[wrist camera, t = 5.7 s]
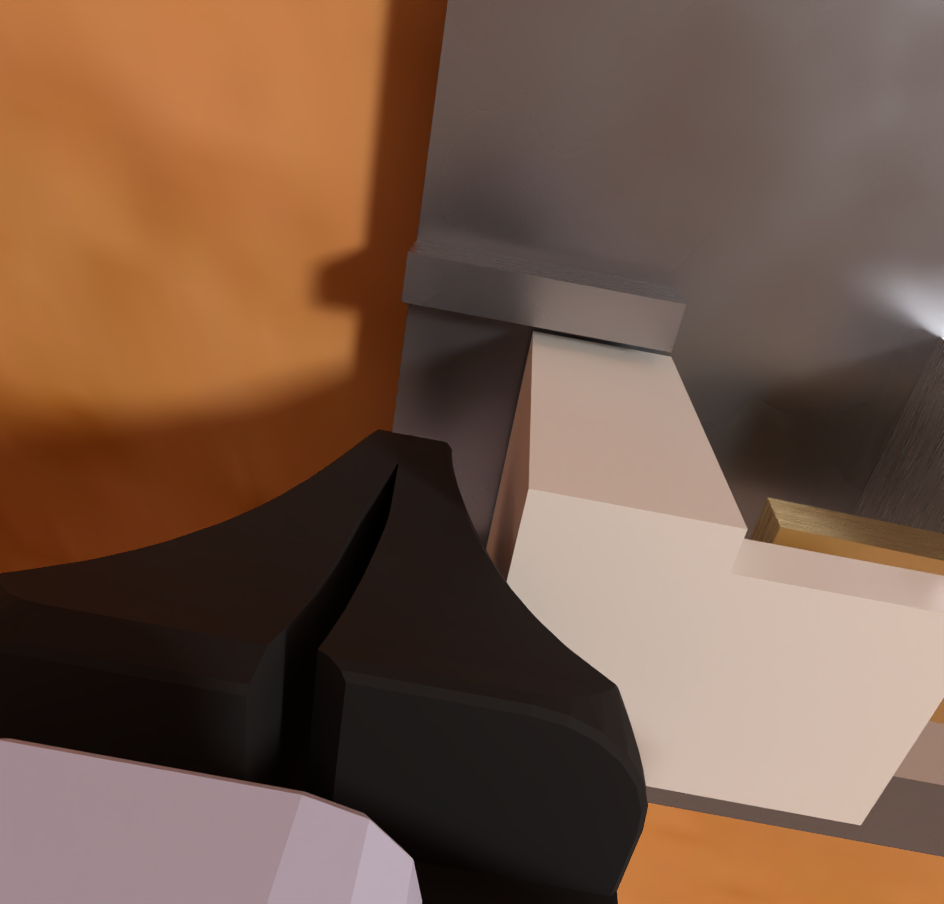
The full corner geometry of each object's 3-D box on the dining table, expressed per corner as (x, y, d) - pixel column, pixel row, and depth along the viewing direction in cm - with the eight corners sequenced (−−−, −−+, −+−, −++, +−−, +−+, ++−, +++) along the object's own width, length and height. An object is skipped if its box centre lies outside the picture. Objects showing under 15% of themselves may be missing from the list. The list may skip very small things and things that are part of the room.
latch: (748, 605, 15) (843, 852, 10) (484, 556, 15) (458, 782, 10) (843, 388, 13) (1021, 579, 8) (533, 330, 13) (528, 489, 8)
